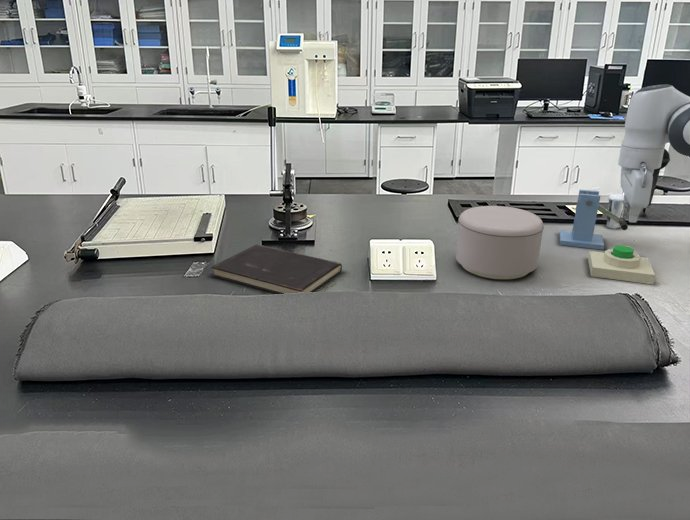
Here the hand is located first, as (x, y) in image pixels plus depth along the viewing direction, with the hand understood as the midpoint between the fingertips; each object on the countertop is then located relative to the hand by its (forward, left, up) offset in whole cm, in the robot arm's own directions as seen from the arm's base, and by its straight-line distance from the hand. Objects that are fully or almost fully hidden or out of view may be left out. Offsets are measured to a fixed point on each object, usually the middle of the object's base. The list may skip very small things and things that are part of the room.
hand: (629, 215), depth 128 cm
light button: (+3, +17, -4) cm, 18 cm away
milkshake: (+1, -16, -8) cm, 18 cm away
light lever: (+6, 0, 0) cm, 6 cm away
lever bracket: (+10, 0, -8) cm, 13 cm away
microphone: (-8, -29, -8) cm, 31 cm away
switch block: (+3, +17, -8) cm, 19 cm away
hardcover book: (+73, +44, -8) cm, 85 cm away
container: (+29, +23, -8) cm, 38 cm away
